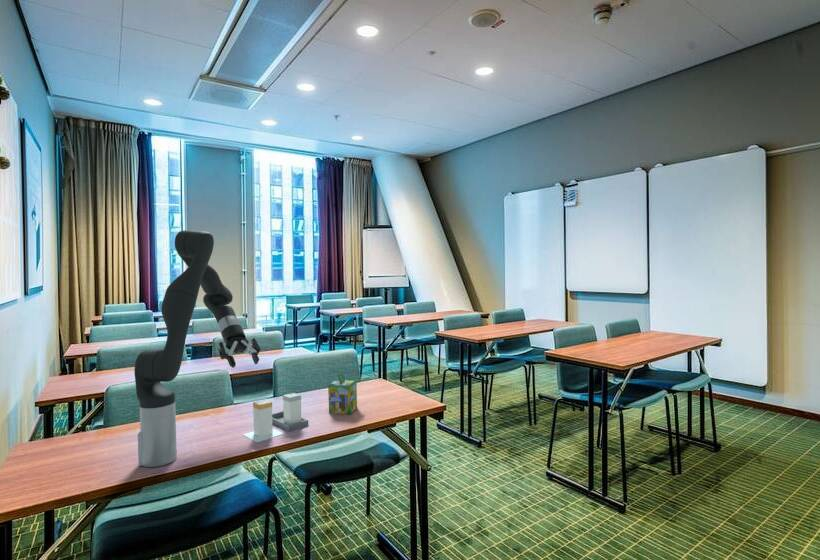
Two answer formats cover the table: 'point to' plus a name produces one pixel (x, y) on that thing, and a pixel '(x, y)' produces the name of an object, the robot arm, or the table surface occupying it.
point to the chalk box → (342, 396)
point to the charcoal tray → (279, 421)
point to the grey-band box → (292, 408)
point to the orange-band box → (262, 418)
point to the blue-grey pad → (258, 439)
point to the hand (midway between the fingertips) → (245, 364)
